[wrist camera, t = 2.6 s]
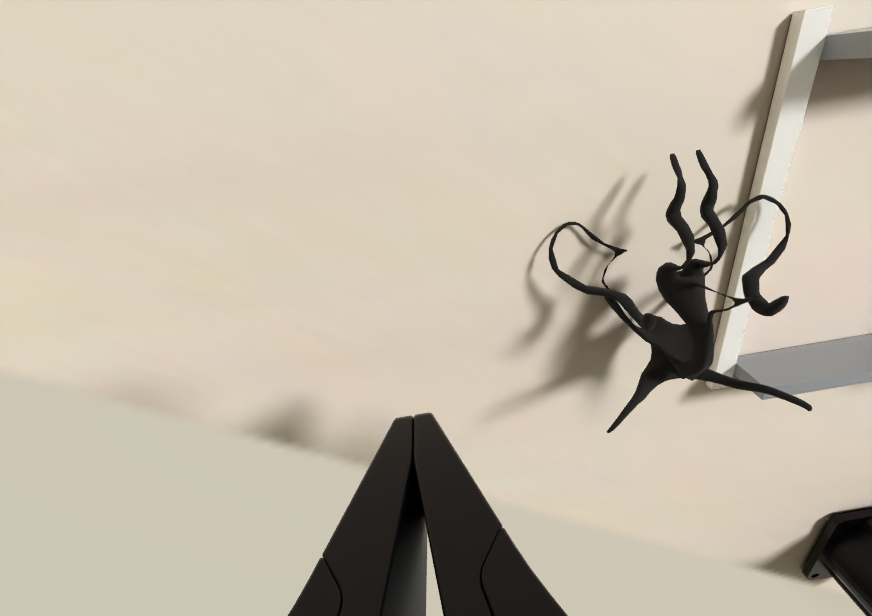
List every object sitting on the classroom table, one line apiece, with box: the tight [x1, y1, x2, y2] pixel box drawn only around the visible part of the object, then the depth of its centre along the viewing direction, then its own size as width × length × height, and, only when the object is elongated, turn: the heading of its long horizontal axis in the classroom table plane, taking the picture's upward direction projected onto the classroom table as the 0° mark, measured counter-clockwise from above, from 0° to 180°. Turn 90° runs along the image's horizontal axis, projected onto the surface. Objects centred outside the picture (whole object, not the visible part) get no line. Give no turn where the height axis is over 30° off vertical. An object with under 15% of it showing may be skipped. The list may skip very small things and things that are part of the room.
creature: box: [549, 150, 812, 433], centre depth 13 cm, size 8×5×8 cm
